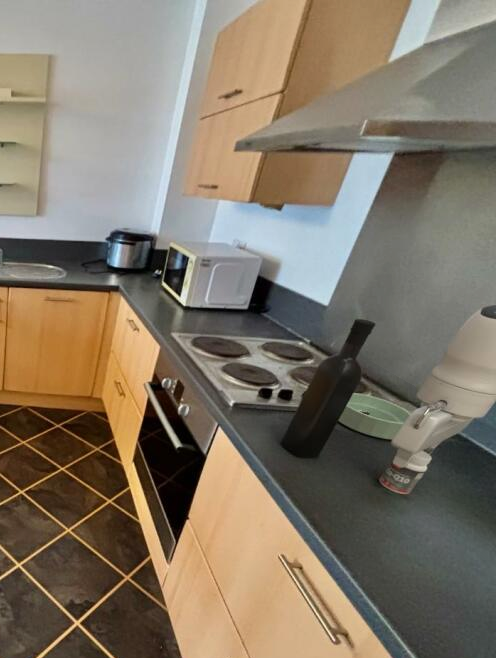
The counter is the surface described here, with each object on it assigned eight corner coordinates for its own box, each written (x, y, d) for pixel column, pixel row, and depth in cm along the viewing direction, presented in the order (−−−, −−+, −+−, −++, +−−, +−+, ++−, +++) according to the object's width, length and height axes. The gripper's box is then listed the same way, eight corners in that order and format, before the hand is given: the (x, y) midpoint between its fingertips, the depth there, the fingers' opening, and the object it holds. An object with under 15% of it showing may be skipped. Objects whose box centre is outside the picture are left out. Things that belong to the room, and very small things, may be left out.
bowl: (415, 433, 101) (426, 416, 98) (386, 447, 95) (397, 429, 92) (347, 404, 112) (356, 388, 110) (317, 415, 106) (326, 398, 104)
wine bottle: (277, 442, 94) (339, 315, 80) (301, 442, 94) (366, 316, 80) (295, 458, 89) (364, 326, 75) (320, 458, 89) (393, 327, 75)
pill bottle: (373, 481, 83) (395, 448, 79) (386, 476, 85) (408, 443, 81) (401, 497, 79) (426, 463, 75) (414, 491, 81) (439, 457, 77)
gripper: (453, 416, 66) (405, 483, 72) (501, 395, 74) (454, 456, 81) (405, 397, 71) (364, 461, 77) (454, 380, 79) (414, 439, 86)
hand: (410, 459), depth 79 cm, fingers open, 8 cm apart
